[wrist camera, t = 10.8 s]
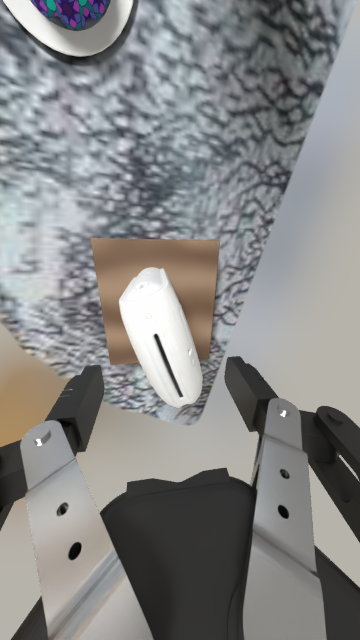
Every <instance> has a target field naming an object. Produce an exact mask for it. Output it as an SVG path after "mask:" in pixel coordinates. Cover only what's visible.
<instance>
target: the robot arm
mask: <svg viewBox="0 0 360 640" xmlns="http://www.w3.org/2000/svg"><path fill="white" fill-rule="evenodd" d="M225 383H226V386H227V388H228V390H229V392H230V394H231V396H232V398H233V400H234V402H235V404H236V406H237V408H238V410H239V412H240V414H241V416H242V418H243V420H244V422H245V424H246V426H247V428H248V430H249V432H253V431H257V432H258V434H259V439H258V445H257V450H256V456H255V462H254V468H253V473H252V478H251V482H250V485H249V484H247V483H245V482H244V481H242V480H239V479H237V478H234V477H230V476H229V474H228V471H227V468H221V469H213V470H208V471H202V472H200V473H198V474H196V475H194V476H193V477H190V478H188V479H186V480H184V481H182V482H171V481H165V480H159V479H154V478H153V479H145V480H139V481H132V482H127V491H126V492H125V493H123V494H121V495H119V496H118V497H116V498H115V499H114V500H112V501H111V502H110V503H109V504H108V505H107V506H106V507H105V508H104V509H103V510H102V511H101V512H100V513H99V511H98V509H97V506H96V504H95V502H94V500H93V497H92V495H91V492H90V490H89V488H88V485H87V483H86V481H85V478H84V476H83V474H82V471H81V469H80V467H79V464H78V462H77V460H76V458H75V456H76V454H77V452H84V451H86V448H87V445H88V442H89V439H90V435H91V433H92V429H93V426H94V423H95V420H96V417H97V414H98V411H99V408H100V405H101V402H102V399H103V395H104V381H103V376H102V371H101V366H100V365H93V366H86V367H85V368H84V370H83V372H82V373H81V375H76V376H75V377H73V378H72V379H71V380H70V381H69V382H68V383H67V385H66V387H65V388H64V391H62V393H61V395H60V397H59V398H58V400H57V401H56V403H55V405H54V406H53V408H52V410H51V412H50V413H49V415H48V416H47V418H46V419H45V421H44V422H42V423H40V424H38V425H37V426H35V427H33V428H32V429H31V430H30V431H29V432H27V433H26V435H25V436H24V437H23V439H22V440H19V441H16V442H14V443H11V444H8V445H5V446H3V447H0V530H1V528H2V526H3V524H4V522H5V520H6V518H7V516H8V514H9V512H10V510H11V508H12V505H13V503H14V501H16V500H19V499H21V498H23V497H25V498H26V505H27V511H28V516H29V522H30V529H31V534H32V540H33V546H34V552H35V558H36V564H37V570H38V576H39V582H40V588H41V594H42V596H41V597H40V598H39V600H38V601H37V603H36V604H35V606H34V607H33V609H32V610H31V611H30V613H29V614H28V616H27V617H26V619H25V620H24V621H23V623H22V624H21V626H20V627H19V629H18V630H17V632H16V633H15V634H14V636H13V637H12V639H11V640H360V588H359V587H358V586H357V585H356V584H355V583H354V582H353V581H352V580H351V579H350V578H349V577H348V576H347V575H346V574H345V573H344V572H342V570H341V569H339V568H338V567H337V566H336V565H335V564H334V563H333V562H332V561H330V559H329V558H328V557H327V556H326V555H325V554H324V553H322V552H321V551H320V550H319V549H318V548H317V547H316V546H315V545H314V536H313V522H312V508H311V495H310V482H309V468H308V463H309V465H310V466H311V468H312V469H313V471H314V472H315V474H316V476H317V477H318V479H319V480H320V482H321V483H322V485H323V486H324V488H325V489H326V491H327V492H328V494H329V496H330V497H331V499H332V500H333V502H334V503H335V505H336V506H337V508H338V510H339V511H340V513H341V514H342V515H343V517H344V519H345V521H346V522H347V524H348V525H349V527H350V528H351V530H352V531H353V533H354V534H355V536H356V538H357V539H358V541H359V542H360V482H359V481H360V428H359V427H358V426H357V425H356V424H355V423H354V422H353V421H352V420H351V419H350V418H349V417H348V416H347V415H345V414H344V413H342V412H341V411H339V410H337V409H335V408H332V407H329V406H321V407H319V408H318V409H317V411H316V413H313V412H306V411H301V410H298V409H297V407H296V406H295V405H293V404H292V403H291V402H289V401H287V400H285V399H281V398H279V397H278V396H277V395H276V393H275V392H274V391H273V390H272V388H271V387H270V386H269V385H268V383H267V382H266V381H265V380H264V378H263V377H262V376H261V375H260V373H259V372H258V371H257V370H256V369H255V368H254V367H253V366H251V365H250V364H246V363H245V362H244V361H243V360H242V358H241V357H240V356H236V357H228V358H227V363H226V369H225ZM339 455H341V456H342V457H343V458H344V460H345V461H346V462H347V463H348V464H349V465H350V467H351V468H352V469H353V471H354V472H355V473H356V475H357V476H358V479H359V481H358V480H357V479H356V477H355V476H354V475H353V474H352V472H351V471H350V470H349V468H348V467H347V466H346V465H345V463H344V462H343V461H342V460H341V458H339Z"/></svg>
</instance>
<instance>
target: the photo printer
mask: <svg viewBox="0 0 360 640" xmlns="http://www.w3.org/2000/svg"><path fill="white" fill-rule="evenodd" d="M119 306H120V312H121V317H122V320H123V323H124V326H125V329H126V332H127V334H128V337H129V339H130V342H131V344H132V347H133V349H134V351H135V354H136V356H137V358H138V360H139V362H140V364H141V366H142V368H143V370H144V372H145V374H146V376H147V378H148V379H149V381H150V383H151V385H152V386H153V388H154V389H155V391H156V392H157V394H158V395H159V396H160V397H161V398H162V399H163V400H164V401H165V402H166V403H167V404H169V405H170V406H172V407H176V408H180V407H182V406H183V405H185V404H192V403H194V402H195V401H196V400H197V399H198V397H199V396H200V394H201V391H202V380H203V377H202V371H201V367H200V363H199V359H198V355H197V352H196V348H195V345H194V342H193V338H192V336H191V332H190V329H189V326H188V324H187V321H186V318H185V315H184V312H183V310H182V306H181V304H180V303H179V301H178V298H177V296H176V294H175V291H174V289H173V287H172V284H171V282H170V280H169V277H168V275H167V273H166V272H165V270H164V269H163V268H162V269H158V268H154V267H150V268H146V269H144V270H142V271H141V272H140V273H139V274H138V276H137V277H134V278H133V279H132V281H131V282H130V284H129V285H128V287H127V288H126V290H125V291H124V293H123V295H122V296H121V298H120V299H119Z"/></svg>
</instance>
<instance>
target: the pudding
mask: <svg viewBox="0 0 360 640" xmlns="http://www.w3.org/2000/svg"><path fill="white" fill-rule="evenodd" d="M3 1H4V3H5V4H6V5H7V7H8V8H9V10H10V11H11V12H12V14H13V15H14V16H15V18H16V19H17V20H18V21H19V22H20V23H21V24H22V25H23V26H24V27H25V28H26V29H27V31H29V32H30V33H31V34H32V35H33V36H35V37H36V38H37V39H38V40H39V41H41V42H42V43H44V44H45V45H47V46H49V47H50V48H52V49H54V50H56V51H59V52H61V53H64V54H67V55H72V56H79V57H80V56H90V55H94V54H96V53H99V52H101V51H103V50H104V49H106V48H107V47H109V46H110V45H111V44H112V43H113V42H114V41H115V40H116V39H117V37H118V36H119V35H120V34H121V32H122V30H123V28H124V26H125V24H126V23H127V20H128V17H129V14H130V12H131V9H132V5H133V0H111V2H110V5H109V7H108V9H107V11H106V13H105V15H104V16H103V17H102V19H101V20H100V21H99V22H98V23H97V24H95V25H94V26H93V27H91V28H89V29H86V30H81V31H73V30H67V29H64V28H62V27H60V26H57V25H56V24H54V23H53V22H51V21H50V20H48V19H47V18H46V17H45V16H44V15H42V14H41V13H40V12H42V13H43V14H45V15H46V16H47V17H56V16H58V17H59V18H60V19H61V20H62V22H63V23H64V24H65V25H66V27H69V28H72V29H75V30H76V29H80V28H83V27H84V25H85V22H86V20H87V18H92V19H99V18H100V17H101V16H102V15H103V14H104V12H105V9H106V6H107V0H32V1H33V3H34V4H35V5H36V7H37V8H38V9H39V11H40V12H39V11H38V10H37V8H36V7H35V6H34V5H33V4H32V3H31V1H30V0H3Z"/></svg>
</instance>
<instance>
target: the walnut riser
mask: <svg viewBox="0 0 360 640" xmlns="http://www.w3.org/2000/svg"><path fill="white" fill-rule="evenodd" d="M91 245H92V251H93V257H94V263H95V270H96V276H97V282H98V289H99V295H100V301H101V307H102V314H103V320H104V326H105V333H106V339H107V345H108V351H109V358H110V364H111V365H117V364H133V363H140V362H139V360H138V358H137V356H136V354H135V351H134V349H133V347H132V344H131V342H130V339H129V337H128V334H127V332H126V329H125V326H124V323H123V320H122V317H121V312H120V306H119V299H120V298H121V296H122V295H123V293H124V291H125V290H126V288H127V287H128V285H129V284H130V282H131V281H132V279H133V278H134V277H137V276H138V274H139V273H140V272H141V271H142V270H144V269H146V268H150V267H154V268H158V269H162V268H163V269H164V270H165V272H166V273H167V275H168V277H169V280H170V282H171V284H172V287H173V289H174V291H175V294H176V296H177V298H178V301H179V303H180V304H181V306H182V310H183V312H184V315H185V318H186V321H187V324H188V326H189V329H190V332H191V336H192V338H193V342H194V345H195V348H196V352H197V355H198V359H208V358H209V353H210V342H211V331H212V321H213V310H214V299H215V288H216V278H217V267H218V256H219V245H220V241H215V240H166V239H117V238H91Z"/></svg>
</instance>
